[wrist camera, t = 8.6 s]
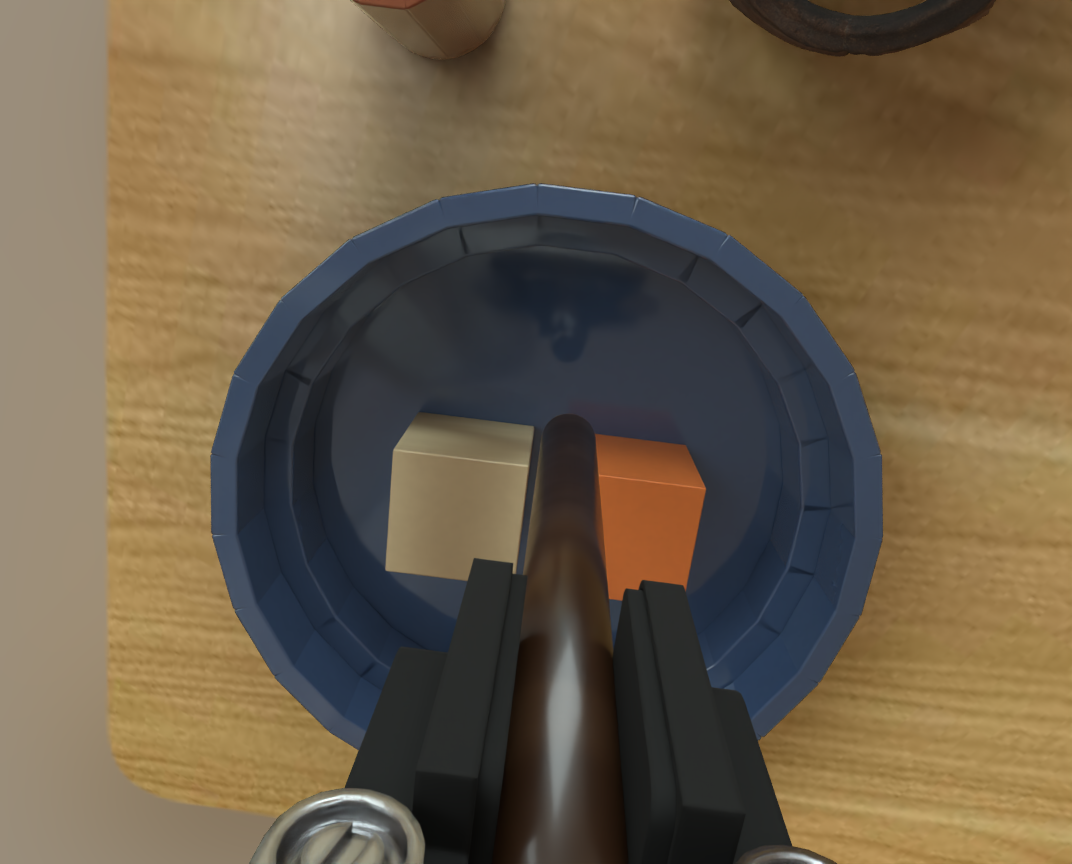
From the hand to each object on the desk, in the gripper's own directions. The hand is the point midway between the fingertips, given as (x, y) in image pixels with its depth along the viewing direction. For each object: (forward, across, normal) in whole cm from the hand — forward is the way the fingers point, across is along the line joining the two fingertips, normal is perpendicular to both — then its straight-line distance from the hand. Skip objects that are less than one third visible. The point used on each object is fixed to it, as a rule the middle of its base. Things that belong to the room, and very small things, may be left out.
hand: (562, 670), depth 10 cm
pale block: (+16, +3, +4) cm, 17 cm away
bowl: (+17, 0, +4) cm, 17 cm away
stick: (+11, 0, 0) cm, 11 cm away
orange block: (+16, -2, +4) cm, 17 cm away
